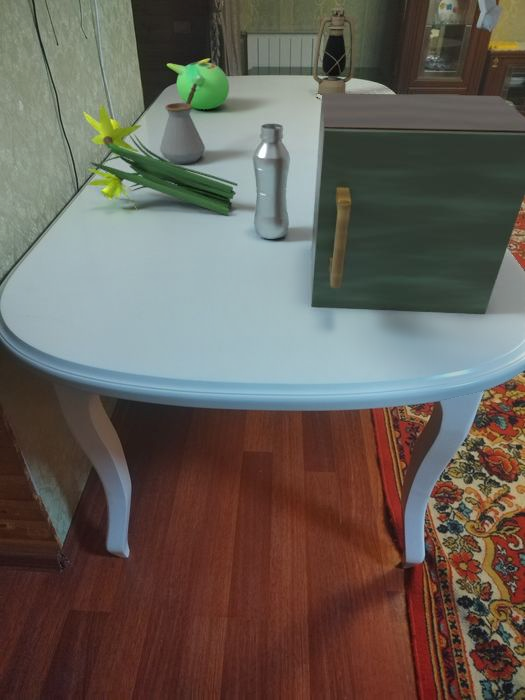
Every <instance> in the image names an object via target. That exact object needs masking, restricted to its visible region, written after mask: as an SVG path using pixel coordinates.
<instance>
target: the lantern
mask: <svg viewBox="0 0 525 700" xmlns="http://www.w3.org/2000/svg"><path fill="white" fill-rule="evenodd" d="M342 2H343V0H341V1H340V4H342ZM330 11H331V15H330V16H327V17H324V18H323V17H321V16H319V17H318V19H317V22H318V25H319V26H318V28H317V32H316V36H317V37H316V38H317V39H316V44H315V50H314V60H313V69H312V72H313V73H312V77H313V79H314V81H315V82H316V83H318V89H317V92H318V93H317V92H316V93H317V94H320V95H322V93H345V92H346V87H347V85H346V83H348V82H349V81H351V80H352V79H353V76H354V70H355V54H356V53H355V48H356V47H355V45H356V41H355V40H356V39H355V38H356V37H355V34H356V33H357V29H358V28H357V25H358V24H357V23H358V21H359V19H358V17H357V15H356V16H354V17H352V18H351V17H349V16H345V11H347V9H346V8H344V7H342V5H340V6H335V7H333V8H331V9H330ZM334 12H335V13H334ZM327 23H330V24H329V25H328V26H327V27H326V28H327V29H329V33H328V34H329V35H328V38H327V40H326V45H325V48H324V50H322V52H323V56H322V59H321V58H320V57H321V54H320V51H321V50H320V49H321V44H322V38H323V33H324V30H325V26H326V24H327ZM345 23H348V24H349V31H350V32H349V33H350V47H349V48H348V46H346V44H345V36H344V29H347V28H348V26H346V25H345ZM346 49H347V51H346ZM346 53H347V54H346ZM349 55H350V56H349ZM348 56H349V72H348V76H346V77H345V78H342V76H344V75H345V74H346V72H344V71H345V69H346V65H347V58H348ZM319 61H320V62H321V63H322V70H323V72H324V73H325V77H324V75H323V74H322V73H323V72H318V68H319ZM343 72H344V73H343ZM319 74H321V75H322V77H323V78H320V77H319V76H318V75H319ZM340 76H341V77H340Z"/></svg>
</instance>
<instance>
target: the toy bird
mask: <svg viewBox="0 0 525 700" xmlns="http://www.w3.org/2000/svg"><path fill="white" fill-rule="evenodd" d="M209 61H211V58H205V59H202V60H199V61H194V62H191V63H189V64H187V65H182V64H181V65H180V64H176V63H167V64H166V66H167V67H168V68H169V69H170V70H172V71H173V72H175V73H177V74H178V75H177V78H176V79H177V80H176V89H177V93H178V95H179V96H180V99H181V100H182V101H183V103H187V99H188V96H189V93H190V92H191V88H192V86H193V85H194V84H195V83H196V84H197V85H199V86H200V87H199V86H196V88H195V89H196V90H199V89H200V90H199V91H195V92H194V97H193V99H192V101H191V103H190V105H191V106H192V109H197V110H201V109H203V111H204V110H205V109H207V110H213V109H215V108H218V107H219V106H221V105H222V104H223V103H224V102H225V101H226V99H227V97H228V95H229V92H230V82H229V79H228V77H227V74H226V73H225V72H224V71H223V69H222V68H221V67H219V66H218V65H216V64H215V63H212V62H209ZM205 111H206V110H205Z"/></svg>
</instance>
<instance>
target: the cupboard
mask: <svg viewBox="0 0 525 700" xmlns="http://www.w3.org/2000/svg"><path fill="white" fill-rule="evenodd" d="M320 100H321V101H320V115H319V116H320V117H319V129H318V131H319V132H318V143H317V144H318V147H317V160H316V161H317V162H316V177H315V190H314V194H315V195H314V205H313V220H312V235H311V249H310V250H311V252H310V253H311V254H310V255H311V258H310V259H311V260H310V261H311V264H310V265H311V267H310V268H311V269H310V270H311V271H310V274H311V275H310V276H311V279H310V287H311V289H310V291H311V292H310V293H311V294H310V297H311V298H310V299H311V300H310V302H311V301H312V288H313V274H314V260H315V246H316V233H317V219H318V205H319V192H320V178H321V164H322V150H323V137H324V129H325V128H328V129H373V130H419V131H465V132H510V133H525V116H524V115H523V114H522V113H520V112H519V111H518V110H517V109H516V108H515V107H514V106H512V105H511V104H510V103H508V102H507V101H506V100H505V99H504V98H502V97H501V96H500V95H465V94H463V95H461V94H460V95H458V94H408V93H407V94H405V93H404V94H403V93H352V92H351V93H349V92H346V93H322V99H320Z"/></svg>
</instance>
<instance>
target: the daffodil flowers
mask: <svg viewBox="0 0 525 700" xmlns="http://www.w3.org/2000/svg"><path fill="white" fill-rule="evenodd" d="M82 113H83V115H84V117H85V119H86V121H87V122H88V123H89V125H90V126H91V127H92V128H94V129H95V130H96V131H97V132H98V133H99V134H97V135H95V136H94V137H93V138H92V140H91V142H92V143H95V144H96V145H99V146H104V145H105V146H106V147H107V148H108V149H109V151H110V153H111V152H112V154H113V155H114V157H110V158H108V159H106V160H104V161H101V163H106V162H109V161H112V160H117V159H121V160H122V161H123V162H125V163H127V164H128V166H129V167H130V168H131V170H133V171H134V172H126V171H123V170H120V169H118V168H114V167H111V166H108V165H104V164H100V163H97V162H93V161H90V162H89V164H91V165H92V166H94V167H96V168H98V169H100V170H98V169H95V168H86V167H85V168H84V169H86V171H89V172H91V173H94V174H96V175H97V176H100V177H102V178H101V179H99V178H98V179H94V180H91V181H90V182H88V183H87V186H97V187H98V186H99V187H100V186H102V187H103V186H105V187H104V188H103V189H101V190H100V194H102V195H103V196H104V198H105V197H106V199H108V200H113V199H114V197H115V199H116V200H117V199H119V197H120V196H121V193H123V195H125V197H126V198H128V199H129V200H130V201H132V199H131V197H130V196H129V195H128V193H127V192H126V190H125V189H127V190H129V191H131V192H134V191H136V190H140V189H146V188H147V189H151V190H154V191H156V192H159V193H162V194H165V195H168V196H171V197H173V198H176V199H179V200H181V201H185V202H187V203H190V204H193V205H195V206H199V207H202V208H204V209H207V210H210V211H213V212H216V213H218V214H222V215H224V216H229V213H230V208H231V206H232V204H233V202H232V201H231V200H233V199H234V196H235V195H236V194H237V192H235V190H234V187H233V186H236V187H238V185H239V184H238V182H237V183H236V182H234V181H231V180H228V179H224V178H223V177H218V176H215V175H212V174H208V173H206V172H201V171H198V170H195V169H191V168H188V167H184V166H182V165H179V164H175V163H172V162H170V161H169V160H166V158H165V159H164V158H163V157H161V156H159V155H158V154H156V153H155V152H154V151H153V152H152V151H151V150H149V149H148V148H147V147H146V146H145V145H144V144H143V143H142V142H141V141H140V139H139V138H138V136H137V135H136V133H134V132H135V131H137V130H138V129H140V128H141V127H142V125H140V124H135V125H131V126H123V127H121V124H120V122H119V121H118V120H115V118H113V119H112V118H110V116H109V114H108V112H107V110H106V108H105V106H104V104H102V103H101V104H100V107H99V112H98V113H99V115H98V119H99V121H97V120H96V119H95V118H94V117H92V116H91V115H89V114H88V113H87V112H85V111H82ZM131 134H133V135H134V137H135V138H136V140H137V142H138V143H139V144H138V143H137V142H136V140H135V139H134V138H133V137H132V136H131ZM127 136H129V138H130V139H131V141H132V142H133V144H134V145H135V146H136V147H137V148H138V149H137V148H134V147H133V146H132V145H131V144H129V143H128V142H127V141H125V140H124V138H125V137H127ZM139 151H140V153H142V154H140V153H139ZM101 170H102V171H101ZM103 171H104V172H105V173H104V172H103ZM124 180H126V181H129V182H131V183H134V184H132V185H131V186H127V185H126V184H124V183H123V181H124ZM223 182H224V183H223ZM225 183H227V184H225ZM228 184H229V185H228ZM231 185H233V186H231ZM137 186H139V187H137ZM133 187H137V188H135V189H130V188H133ZM133 206H134V208H135V209H136V210H138V208H137V207H136V205H135V204H133Z"/></svg>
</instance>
